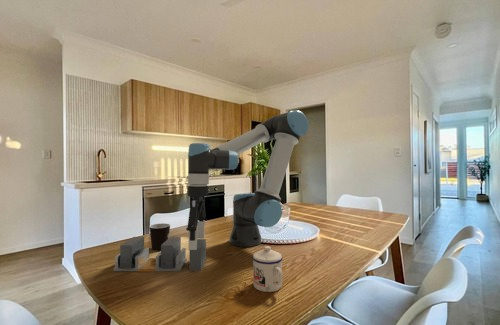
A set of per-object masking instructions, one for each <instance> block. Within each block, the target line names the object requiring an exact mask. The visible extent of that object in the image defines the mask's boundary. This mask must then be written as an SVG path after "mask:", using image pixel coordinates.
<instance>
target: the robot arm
mask: <svg viewBox="0 0 500 325" xmlns="http://www.w3.org/2000/svg"><path fill="white" fill-rule="evenodd" d="M308 131H309V121H308V118H307V116H306V115H305V114H304V113H303V112H302V111H300V110H290V111H288V112H284V113H280V114H276V115H273V116H271V117H270V118H268V119H266V120H264V121H263V122H260V123H259V124H257V125H256V126H255V128H253V129H251V130H249V131H247V132H245V133H243V134H240V135H238V136H237V137H235V138H232V139H231V140H229V141H226V142H224V143H223V144H221V145H218V146H216V147H214V148H210V144H208V143H205V142H192V143H190V144H189V145H188V153H187V154H188V155H187V158H188V160H187V161H188V162H187V169H188V170H187V176H186V179H187V184H188V186H187V196H188V197H189V198H191V197H192V200H190V202H189V213H188V222H187V227H186V231H187V232H188V251H190V250H197V239H205V222H206V221H207V218H208V217H207V216H206V206H205V200H206V199H205V197H208V196H209V186H208V185H209V183H210V180H209V179H210V172H209V171H210V170H227V171H228V170H229V171H230V170H235V169H237V168H238V165H239V163H240V162H239V155H241V154H242V153H244V152H246V151H248V150H250V149H252V148H253V147H256V146H257V145H260V144H261V143H267V142H269V141H272V140H275V143H274V146H273V149H272V151H271V155H270V157H269V160H268V163H267V167H266V170H265V172H264V175H263V179H262V182H261V185H260V187H259V188H258V189H256V190H255V191H254V192H251V193H249V192H248V193H238V194H234V196H233V200H232V207H233V208H232V214H233V215H232V219H233V222H232V223H233V225H232V229H231V232H230V235H229V244H231V245H233V246H235V247H236V246H237V247H245V248H246V247H256V246H258V245H260V244H261V243H262V236H261V232H260V229H259V227H263V228H272V227H274V226H276V225H277V224H278V223H279V222H280V221H281V218H282V216H283V208H282V205H281V200H282V198H281V197H280V195H279V194H280V191H281V188H282V184H283V181H284V179H285V175H286V173H287V169H288V167H289V163H290V161H291V156H292V154H293V151H294V147H295V145H298V144H299V142H300V140H301V137H302V136H304V135H306V134H307V133H308ZM206 217H207V218H206Z"/></svg>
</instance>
